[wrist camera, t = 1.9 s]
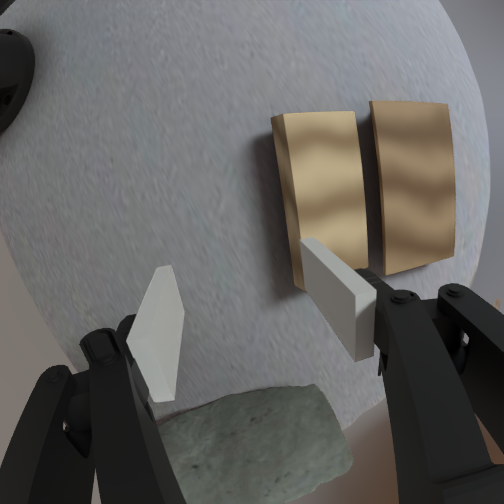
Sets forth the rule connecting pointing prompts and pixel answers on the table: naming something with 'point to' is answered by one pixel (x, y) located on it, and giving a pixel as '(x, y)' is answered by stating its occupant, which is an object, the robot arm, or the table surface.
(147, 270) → the table surface
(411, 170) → the board
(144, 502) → the robot arm
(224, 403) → the rock
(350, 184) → the plank
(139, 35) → the table surface
